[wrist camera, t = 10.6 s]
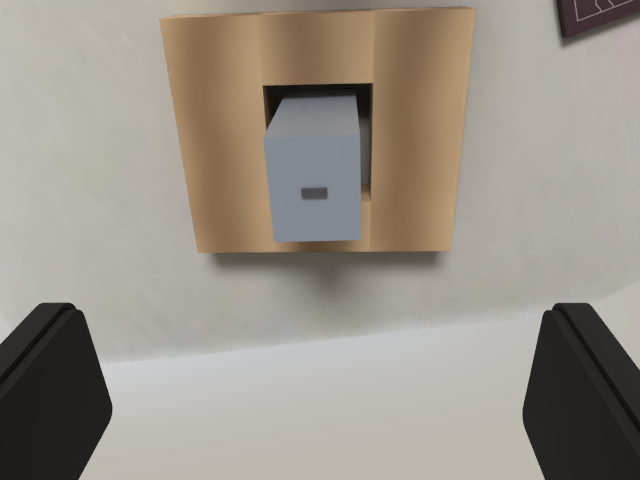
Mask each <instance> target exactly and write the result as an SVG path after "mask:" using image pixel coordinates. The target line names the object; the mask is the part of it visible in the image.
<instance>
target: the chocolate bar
mask: <svg viewBox="0 0 640 480" xmlns="http://www.w3.org/2000/svg"><path fill="white" fill-rule="evenodd" d="M557 4H558V10H559V17H560V23H561V29H562V36H563V37H567V38H568V37H570V36H573V35H576V34H578V33H581V32H583V31H586V30H589V29H591V28H594V27H597V26H599V25H602V24H605V23H607V22H610V21H613V20H615V19H618V18H621V17H623V16H626V15H629V14H631V13H634V12H637V11H639V10H640V0H557Z"/></svg>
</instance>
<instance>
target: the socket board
mask: <svg viewBox="0 0 640 480" xmlns="http://www.w3.org/2000/svg"><path fill="white" fill-rule="evenodd" d="M475 16H476V9H473V8H468V7H434V8H401V9H368V10H335V11H303V12H270V13H237V14H204V15H175V16H170V17H166V18H161V19H159V20H160V26H161V32H162V38H163V44H164V50H165V56H166V62H167V68H168V74H169V80H170V86H171V92H172V99H173V105H174V111H175V117H176V123H177V129H178V135H179V141H180V147H181V153H182V159H183V165H184V171H185V177H186V183H187V189H188V195H189V202H190V208H191V214H192V220H193V226H194V232H195V238H196V244H197V250H198V253H239V252H392V251H451V242H452V233H453V223H454V214H455V204H456V195H457V186H458V176H459V167H460V157H461V148H462V138H463V129H464V120H465V110H466V101H467V91H468V82H469V73H470V63H471V54H472V44H473V35H474V25H475ZM349 83H370V126H369V184H361V240H340V241H301V242H274V237H273V227H272V218H271V209H270V199H269V190H268V180H267V171H266V161H265V152H264V143H263V137H264V135H265V133H266V131H267V129H268V127H269V125H270V123H271V121H272V105H271V92H270V85H306V84H349Z"/></svg>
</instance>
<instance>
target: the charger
mask: <svg viewBox="0 0 640 480" xmlns="http://www.w3.org/2000/svg"><path fill="white" fill-rule="evenodd" d="M263 143H264V152H265V161H266V171H267V180H268V190H269V199H270V209H271V218H272V227H273V237H274V242H301V241H340V240H361V168H360V129H359V120H358V112H357V103H356V94H355V89H345V90H322V91H299V92H286V93H285V95H284V97H283V99H282V101H281V103H280V105H279V107H278V109H277V111H276V113H275V115H274V117H273V119H272V121H271V123H270V125H269V127H268V129H267V131H266V133H265V135H264V137H263Z"/></svg>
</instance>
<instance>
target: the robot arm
mask: <svg viewBox="0 0 640 480" xmlns="http://www.w3.org/2000/svg"><path fill="white" fill-rule="evenodd" d="M111 416H112V402H111V399H110V396H109V393H108V389H107V386H106V383H105V380H104V377H103V374H102V371H101V367H100V364H99V361H98V358H97V354H96V351H95V348H94V345H93V342H92V338H91V335H90V332H89V329H88V326H87V323H86V319H85V316H84V314H83V312H82V311H81V310H77V309H76V307H75V306H74V305H73V304H71V303H41V304H39V305H38V306H36V308H35V309H34V310H33V311H32V312H31V313H30V314H29V315H28V316H27V317H26V318H25V319H24V320H23V321H22V322H21V323H20V324H19V325H18V326H17V327H16V328H15V330H14V331H13V332H12V333H11V334H10V335H9V336H8V337H7V338H6V339H5V340H4V341H3V342H2V343H1V344H0V480H79V478H80V476H81V474H82V472H83V470H84V468H85V467H86V465H87V462H88V461H89V459H90V457H91V455H92V454H93V452H94V450H95V448H96V446H97V444H98V442H99V441H100V439H101V437H102V435H103V433H104V431H105V429H106V428H107V426H108V424H109V422H110V419H111ZM523 423H524V427H525V430H526V432H527V435H528V437H529V440H530V443H531V445H532V448H533V450H534V453H535V455H536V458H537V460H538V463H539V465H540V468H541V470H542V473H543V475H544V478H545V480H640V370H639V369H638V367H637V366H636V365H635V363H634V362H633V361H632V360H631V358H630V357H629V355H628V354H627V353H626V351H625V350H624V349H623V347H622V346H621V345H620V343H619V342H618V341H617V339H616V338H615V337H614V335H613V334H612V333H611V331H610V330H609V329H608V327H607V326H606V325H605V323H604V322H603V321H602V319H601V318H600V317H599V315H598V314H597V313H596V311H595V310H594V309H593V307H592V306H591V305H590V304H588V303H557V304H555V305H554V306H553V308H552V310H547V311H545V312H544V314H543V317H542V322H541V327H540V331H539V336H538V341H537V345H536V350H535V354H534V359H533V364H532V368H531V373H530V378H529V382H528V387H527V392H526V396H525V401H524V406H523Z"/></svg>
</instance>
